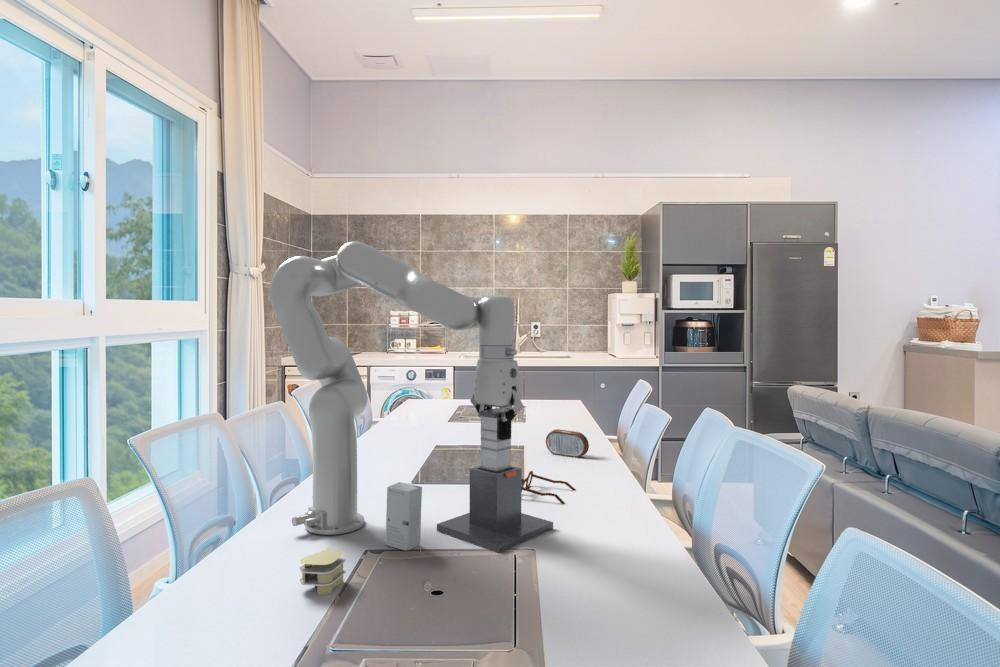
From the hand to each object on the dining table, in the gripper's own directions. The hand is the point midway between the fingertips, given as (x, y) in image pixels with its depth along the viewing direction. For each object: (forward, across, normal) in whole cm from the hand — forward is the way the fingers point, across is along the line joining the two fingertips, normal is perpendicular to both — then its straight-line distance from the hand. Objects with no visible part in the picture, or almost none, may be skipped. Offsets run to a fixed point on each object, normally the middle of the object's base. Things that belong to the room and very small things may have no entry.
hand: (495, 436), depth 131 cm
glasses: (+21, +8, -29) cm, 36 cm away
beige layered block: (+21, +4, +40) cm, 46 cm away
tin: (+21, +29, -68) cm, 77 cm away
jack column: (+15, 0, 0) cm, 15 cm away
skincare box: (+21, +8, +19) cm, 29 cm away
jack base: (+21, 0, 0) cm, 21 cm away
